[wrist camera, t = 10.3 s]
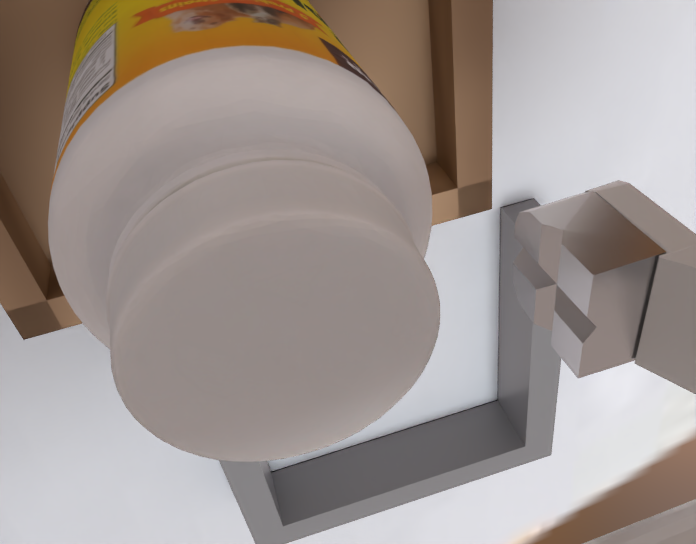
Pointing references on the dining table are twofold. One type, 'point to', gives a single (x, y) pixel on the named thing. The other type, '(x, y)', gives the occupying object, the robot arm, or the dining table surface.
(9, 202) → the walnut tray
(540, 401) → the charcoal bay
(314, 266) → the supplement bottle
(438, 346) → the dining table surface
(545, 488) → the dining table surface
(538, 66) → the dining table surface
